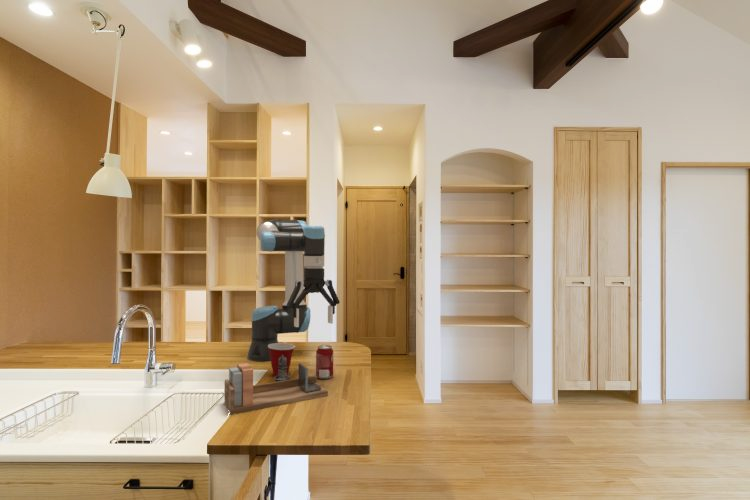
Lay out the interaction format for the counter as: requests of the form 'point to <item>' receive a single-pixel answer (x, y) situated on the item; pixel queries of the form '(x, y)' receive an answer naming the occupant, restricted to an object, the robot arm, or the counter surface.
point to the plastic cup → (280, 355)
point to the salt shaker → (282, 370)
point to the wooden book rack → (262, 391)
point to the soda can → (324, 362)
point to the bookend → (305, 380)
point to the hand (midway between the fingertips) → (313, 324)
